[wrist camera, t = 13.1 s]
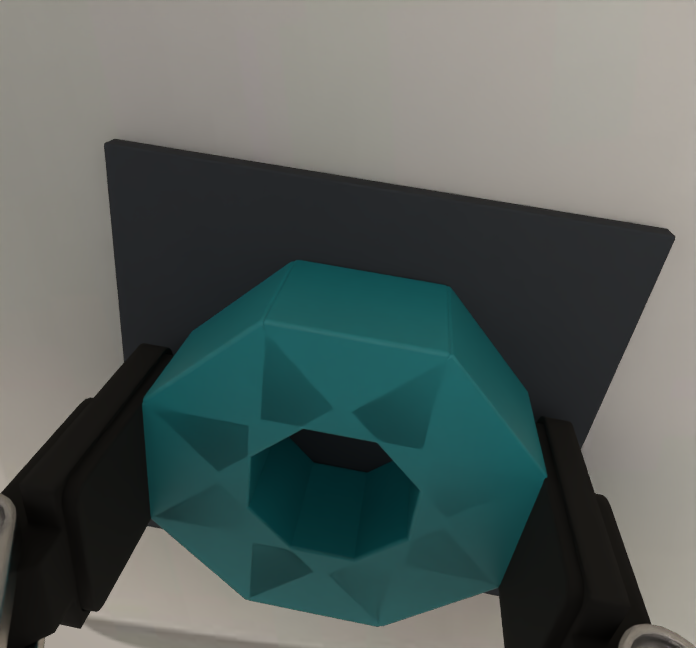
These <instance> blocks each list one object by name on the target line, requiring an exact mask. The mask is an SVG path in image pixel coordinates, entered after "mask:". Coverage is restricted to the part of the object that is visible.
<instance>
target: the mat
mask: <svg viewBox="0 0 696 648" xmlns="http://www.w3.org/2000/svg"><path fill="white" fill-rule="evenodd" d="M104 149H105V160H106V171H107V182H108V193H109V203H110V214H111V225H112V236H113V246H114V257H115V268H116V279H117V290H118V300H119V311H120V322H121V333H122V344H123V354H124V362H125V361H126V360H127V359H128V358H129V356H130V355H131V354H132V353H133V352H134V351H135V350H136V348H137V347H138V346H139V345H140V344H142V343H147V344H152V345H158V346H163V347H169V348H170V349H171V350H172V354H173V355H175V354H176V353H177V351H178V350H179V348H180V347H181V346H182V344H183V343H184V342H185V340H186V339H187V338H188V336H189V335H190V333H191V332H192V331H193V330H195V329H196V328H198V327H199V326H200V325H202V324H203V323H205V322H206V321H207V320H209V319H210V318H212V317H213V316H215V315H216V314H217V313H219V312H220V311H222V310H223V309H224V308H226V307H227V306H229V305H230V304H232V303H233V302H234V301H236V300H237V299H239V298H240V297H242V296H243V295H244V294H246V293H247V292H249V291H250V290H251V289H253V288H254V287H256V286H257V285H259V284H260V283H261V282H263V281H264V280H266V279H267V278H268V277H270V276H271V275H273V274H274V273H276V272H277V271H278V270H280V269H281V268H283V267H284V266H286V265H287V264H288V263H290V262H293V261H296V260H303V261H308V262H314V263H320V264H326V265H332V266H338V267H343V268H349V269H355V270H361V271H367V272H373V273H378V274H384V275H390V276H396V277H402V278H407V279H413V280H419V281H425V282H431V283H437V284H442V285H446V286H450V287H451V288H452V290H453V291H454V292H455V294H456V295H457V296H458V298H459V299H460V300H461V302H462V303H463V304H464V306H465V307H466V309H467V310H468V311H469V313H470V314H471V315H472V317H473V318H474V319H475V321H476V322H477V323H478V325H479V326H480V328H481V329H482V330H483V332H484V333H485V334H486V336H487V337H488V338H489V340H490V341H491V343H492V344H493V345H494V347H495V348H496V349H497V351H498V352H499V353H500V355H501V356H502V357H503V359H504V360H505V362H506V363H507V364H508V366H509V367H510V368H511V370H512V371H513V372H514V374H515V375H516V376H517V378H518V379H519V381H520V382H521V383H522V385H523V386H524V387H525V389H526V390H527V391H528V395H529V399H530V403H531V407H532V412H533V416H534V420H535V422H536V423H537V421H538V419H539V418H540V417H542V416H544V417H549V418H554V419H560V420H565V421H570V422H571V423H572V425H573V427H574V430H575V434H576V437H577V440H578V443H579V446H580V449H581V448H582V446H583V443H584V441H585V439H586V437H587V434H588V432H589V430H590V428H591V426H592V423H593V421H594V419H595V417H596V414H597V412H598V410H599V408H600V405H601V403H602V401H603V399H604V397H605V394H606V392H607V390H608V388H609V385H610V383H611V381H612V379H613V376H614V374H615V372H616V370H617V367H618V365H619V363H620V361H621V359H622V356H623V354H624V352H625V350H626V347H627V345H628V343H629V341H630V338H631V336H632V334H633V332H634V329H635V327H636V325H637V323H638V321H639V318H640V316H641V314H642V312H643V309H644V307H645V305H646V303H647V300H648V298H649V296H650V294H651V292H652V289H653V287H654V285H655V283H656V280H657V278H658V276H659V274H660V271H661V269H662V267H663V265H664V262H665V260H666V258H667V256H668V254H669V251H670V249H671V247H672V245H673V242H674V240H675V236H674V235H673V234H672V233H671V232H670V231H669V230H668V229H664V228H658V227H652V226H646V225H640V224H633V223H627V222H621V221H615V220H609V219H603V218H597V217H590V216H584V215H578V214H572V213H566V212H560V211H554V210H547V209H541V208H535V207H529V206H523V205H517V204H511V203H505V202H498V201H492V200H486V199H480V198H474V197H468V196H462V195H455V194H449V193H443V192H437V191H431V190H425V189H419V188H413V187H406V186H400V185H394V184H388V183H382V182H376V181H370V180H363V179H357V178H351V177H345V176H339V175H333V174H327V173H320V172H314V171H308V170H302V169H296V168H290V167H284V166H278V165H271V164H265V163H259V162H253V161H247V160H241V159H235V158H228V157H222V156H216V155H210V154H204V153H198V152H192V151H186V150H179V149H173V148H167V147H161V146H155V145H149V144H143V143H136V142H130V141H124V140H118V139H113V140H111V141H109V142H106V143H105V144H104ZM289 437H290V438H291V439H292V441H293V442H294V443H295V444H296V445H297V446H298V447H299V448H300V449H301V450H302V451H303V452H304V453H305V454H306V455H307V456H308V457H309V458H310V459H311V460H312V461H313V462H314V463H320V464H325V465H330V466H335V467H341V468H346V469H351V470H356V471H362V472H367V473H368V472H370V471H372V470H374V469H376V468H378V467H380V466H382V465H385V464H387V463H389V462H391V461H393V460H392V459H391V458H390V457H389V455H388V454H387V453H386V452H385V451H384V450H383V449H382V448H381V447H380V445H379V444H378V443H376V442H371V441H366V440H360V439H355V438H350V437H344V436H339V435H334V434H328V433H323V432H318V431H312V430H307V429H302V430H300V431H298V432H296V433H294V434H293V435H291V436H289ZM147 526H151V527H156V528H161V527H160V526H159V525H158V524H157V523H156V522H154V521H153V520H152V519H151V520H150V522H149V523H148V525H147ZM161 529H163V528H161ZM484 593H486V594H491V595H496V596H499V589H498V588H496V589H493V590H490V591H487V592H484Z"/></svg>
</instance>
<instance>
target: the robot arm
mask: <svg viewBox="0 0 696 648" xmlns="http://www.w3.org/2000/svg"><path fill="white" fill-rule="evenodd" d="M173 357H174V355H173V354H172V350H171V349H170V348H169V347H163V346H158V345H152V344H147V343H142V344H140V345H139V346H138V347H137V348H136V350H135V351H134V352H133V353H132V354H131V355H130V356H129V358H128V359H127V360H126V361H125V362H124V363H123V365H122V366H121V367H120V368H119V369H118V370H117V371H116V373H115V374H114V375H113V376H112V377H111V378H110V380H109V381H108V382H107V383H106V384H105V385H104V387H103V388H102V389H101V390H100V391H99V392H98V393H97V395H96V396H95V397H94V398H88V399H85V400H84V401H83V402H82V403H81V404H80V405H79V406H78V407H77V408H76V409H75V410H74V411H73V412H72V414H71V415H70V416H69V417H68V418H67V419H66V420H65V421H64V423H63V424H62V425H61V426H60V427H59V428H58V429H57V430H56V432H55V433H54V434H53V435H52V436H51V437H50V438H49V439H48V441H47V442H46V443H45V444H44V445H43V446H42V447H41V448H40V450H39V451H38V452H37V453H36V454H35V455H34V456H33V457H32V459H31V460H30V461H29V462H28V463H27V464H26V465H25V467H24V468H23V469H22V470H21V471H20V472H19V473H18V474H17V476H16V477H15V478H14V479H13V480H12V481H11V482H10V483H9V485H8V486H7V487H6V488H5V489H4V490H3V491H2V492H1V493H0V648H44V643H45V637H46V636H48V635H51V634H53V633H54V632H55V631H56V629H57V628H58V626H59V624H61V625H66V626H70V627H75V628H81V627H82V625H83V624H84V622H85V620H86V618H87V617H88V615H89V613H90V611H95V612H97V611H99V610H100V609H101V608H102V606H103V605H104V603H105V601H106V600H107V598H108V596H109V594H110V592H111V591H112V589H113V587H114V585H115V583H116V581H117V580H118V578H119V576H120V574H121V572H122V571H123V569H124V567H125V565H126V563H127V562H128V560H129V558H130V556H131V554H132V552H133V551H134V549H135V547H136V545H137V543H138V542H139V540H140V538H141V536H142V534H143V533H144V531H145V529H146V527H147V525H148V523H149V522H150V520H151V514H150V501H149V488H148V476H147V463H146V450H145V437H144V424H143V411H142V403H143V398H144V396H145V395H146V393H147V392H148V391H149V389H150V388H151V387H152V385H153V384H154V382H155V381H156V380H157V378H158V377H159V376H160V374H161V373H162V372H163V370H164V369H165V368H166V366H167V365H168V363H169V362H170V361H171V359H172V358H173ZM535 424H536V429H537V433H538V437H539V442H540V446H541V450H542V454H543V459H544V463H545V467H546V471H547V478H545V479H544V482H543V484H542V487H541V489H540V491H539V494H538V496H537V498H536V501H535V503H534V506H533V508H532V510H531V513H530V515H529V517H528V520H527V522H526V525H525V527H524V529H523V532H522V534H521V536H520V539H519V541H518V544H517V546H516V548H515V551H514V553H513V555H512V558H511V560H510V562H509V565H508V567H507V570H506V572H505V574H504V577H503V579H502V581H501V584H500V585H499V587H498V589H499V599H500V608H501V618H502V627H503V637H504V646H505V648H696V647H695V646H694V645H693V644H691V643H690V642H689V641H687V640H686V639H684V638H683V637H681V636H680V635H679V634H677V633H675V632H673V631H670V630H668V629H666V628H664V627H661V626H656V625H652V624H651V622H650V619H649V616H648V613H647V610H646V607H645V605H644V602H643V599H642V596H641V593H640V590H639V587H638V584H637V581H636V578H635V576H634V573H633V570H632V567H631V564H630V561H629V558H628V555H627V552H626V549H625V547H624V544H623V541H622V538H621V535H620V532H619V529H618V526H617V523H616V520H615V518H614V515H613V512H612V509H611V506H610V504H609V502H608V500H607V498H606V497H605V496H603V495H600V494H595V493H594V490H593V486H592V483H591V480H590V477H589V474H588V471H587V468H586V465H585V462H584V458H583V455H582V452H581V449H580V446H579V443H578V440H577V437H576V434H575V430H574V427H573V425H572V423H571V422H570V421H565V420H560V419H554V418H549V417H544V416H542V417H540V418H539V419H538V421H537V423H536V422H535Z"/></svg>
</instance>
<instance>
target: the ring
mask: <svg viewBox="0 0 696 648" xmlns="http://www.w3.org/2000/svg"><path fill="white" fill-rule="evenodd" d="M142 411H143V424H144V437H145V450H146V463H147V476H148V488H149V501H150V514H151V519H152V520H153V521H154V522H156V523H157V524H158V525H159V526H160V527H161V528H163V529H164V530H165V531H166V532H167V533H168V534H170V535H171V536H172V537H173V538H174V539H175V540H177V541H178V542H179V543H180V544H181V545H182V546H184V547H185V548H186V549H187V550H188V551H189V552H191V553H192V554H193V555H194V556H195V557H196V558H198V559H199V560H200V561H201V562H202V563H203V564H205V565H206V566H207V567H208V568H209V569H211V570H212V571H213V572H214V573H215V574H216V575H218V576H219V577H220V578H221V579H222V580H223V581H225V582H226V583H227V584H228V585H229V586H230V587H232V588H233V589H234V590H235V591H236V592H237V593H239V594H240V595H241V596H242V597H243V598H244V599H246V600H249V601H254V602H259V603H264V604H269V605H274V606H279V607H284V608H288V609H293V610H298V611H303V612H308V613H313V614H318V615H322V616H327V617H332V618H337V619H342V620H347V621H352V622H357V623H361V624H366V625H371V626H376V627H379V626H385V625H388V624H391V623H394V622H397V621H400V620H403V619H406V618H409V617H412V616H415V615H418V614H421V613H424V612H427V611H430V610H433V609H436V608H439V607H442V606H445V605H448V604H451V603H454V602H457V601H460V600H463V599H466V598H469V597H472V596H475V595H478V594H481V593H484V592H487V591H490V590H493V589H496V588H498V587H499V585H500V584H501V581H502V579H503V577H504V574H505V572H506V570H507V567H508V565H509V562H510V560H511V558H512V555H513V553H514V551H515V548H516V546H517V544H518V541H519V539H520V536H521V534H522V532H523V529H524V527H525V525H526V522H527V520H528V517H529V515H530V513H531V510H532V508H533V506H534V503H535V501H536V498H537V496H538V494H539V491H540V489H541V487H542V484H543V482H544V479H545V478H547V471H546V467H545V463H544V459H543V454H542V450H541V446H540V442H539V437H538V433H537V429H536V424H535V420H534V416H533V412H532V407H531V403H530V399H529V395H528V391H527V390H526V389H525V387H524V386H523V385H522V383H521V382H520V381H519V379H518V378H517V376H516V375H515V374H514V372H513V371H512V370H511V368H510V367H509V366H508V364H507V363H506V362H505V360H504V359H503V357H502V356H501V355H500V353H499V352H498V351H497V349H496V348H495V347H494V345H493V344H492V343H491V341H490V340H489V338H488V337H487V336H486V334H485V333H484V332H483V330H482V329H481V328H480V326H479V325H478V323H477V322H476V321H475V319H474V318H473V317H472V315H471V314H470V313H469V311H468V310H467V309H466V307H465V306H464V304H463V303H462V302H461V300H460V299H459V298H458V296H457V295H456V294H455V292H454V291H453V290H452V288H451V287H450V286H446V285H442V284H437V283H431V282H425V281H419V280H413V279H407V278H402V277H396V276H390V275H384V274H378V273H373V272H367V271H361V270H355V269H349V268H343V267H338V266H332V265H326V264H320V263H314V262H308V261H303V260H296V261H293V262H290V263H288V264H287V265H286V266H284V267H283V268H281V269H280V270H278V271H277V272H276V273H274V274H273V275H271V276H270V277H268V278H267V279H266V280H264V281H263V282H261V283H260V284H259V285H257V286H256V287H254V288H253V289H251V290H250V291H249V292H247V293H246V294H244V295H243V296H242V297H240V298H239V299H237V300H236V301H234V302H233V303H232V304H230V305H229V306H227V307H226V308H224V309H223V310H222V311H220V312H219V313H217V314H216V315H215V316H213V317H212V318H210V319H209V320H207V321H206V322H205V323H203V324H202V325H200V326H199V327H198V328H196V329H195V330H193V331H192V332H191V333H190V335H189V336H188V338H187V339H186V340H185V342H184V343H183V344H182V346H181V347H180V348H179V350H178V351H177V353H176V354H175V355H174V357H173V358H172V359H171V361H170V362H169V363H168V365H167V366H166V368H165V369H164V370H163V372H162V373H161V374H160V376H159V377H158V378H157V380H156V381H155V382H154V384H153V385H152V387H151V388H150V389H149V391H148V392H147V393H146V395H145V396H144V398H143V403H142ZM302 429H307V430H312V431H318V432H323V433H328V434H334V435H339V436H344V437H350V438H355V439H360V440H366V441H371V442H376V443H378V444H379V445H380V447H381V448H382V449H383V450H384V451H385V452H386V453H387V454H388V455H389V457H390V458H391V459H392V460H393V461H391V462H389V463H387V464H385V465H382V466H380V467H378V468H376V469H374V470H372V471H370V472H368V473H367V472H362V471H356V470H351V469H346V468H341V467H335V466H330V465H325V464H320V463H314V462H313V461H312V460H311V459H310V458H309V457H308V456H307V455H306V454H305V453H304V452H303V451H302V450H301V449H300V448H299V447H298V446H297V445H296V444H295V443H294V442H293V441H292V439H291V438H290V437H289V436H291V435H293V434H294V433H296V432H298V431H300V430H302Z"/></svg>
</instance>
